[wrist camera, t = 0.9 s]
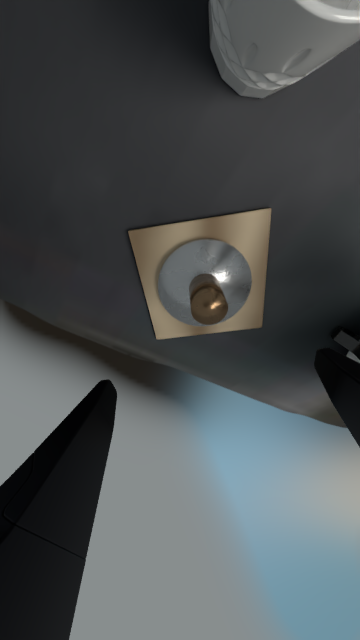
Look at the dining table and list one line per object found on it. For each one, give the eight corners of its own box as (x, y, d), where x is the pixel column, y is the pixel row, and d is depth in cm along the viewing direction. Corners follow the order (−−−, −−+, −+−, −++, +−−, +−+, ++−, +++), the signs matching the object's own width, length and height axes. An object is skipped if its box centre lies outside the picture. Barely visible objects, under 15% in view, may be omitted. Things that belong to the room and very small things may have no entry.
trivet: (269, 207, 18) (271, 208, 17) (260, 325, 24) (261, 327, 24) (128, 230, 19) (127, 231, 18) (157, 337, 25) (156, 339, 25)
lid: (251, 230, 18) (271, 244, 14) (248, 317, 23) (262, 345, 19) (148, 246, 19) (141, 264, 15) (167, 328, 24) (165, 356, 20)
